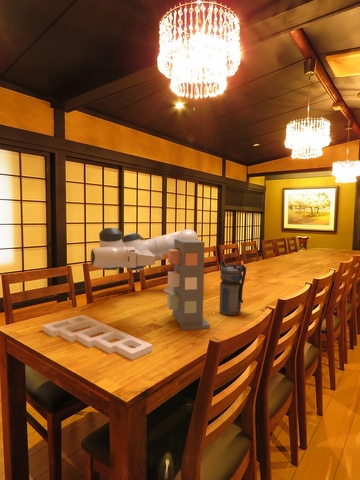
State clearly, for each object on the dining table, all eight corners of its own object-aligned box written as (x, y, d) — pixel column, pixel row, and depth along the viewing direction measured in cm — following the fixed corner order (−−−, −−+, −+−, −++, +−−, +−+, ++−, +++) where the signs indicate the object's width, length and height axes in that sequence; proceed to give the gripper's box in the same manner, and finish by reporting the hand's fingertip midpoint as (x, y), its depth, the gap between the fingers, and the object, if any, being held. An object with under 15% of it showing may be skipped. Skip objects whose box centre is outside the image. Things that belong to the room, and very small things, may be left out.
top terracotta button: (170, 264, 126) (170, 250, 126) (168, 262, 132) (168, 249, 131) (184, 263, 128) (184, 250, 127) (181, 261, 133) (181, 249, 133)
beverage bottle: (239, 318, 136) (241, 265, 134) (214, 312, 144) (215, 262, 142) (248, 313, 144) (250, 262, 142) (224, 308, 152) (225, 259, 150)
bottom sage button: (169, 309, 128) (169, 297, 127) (167, 306, 133) (167, 293, 133) (183, 309, 129) (183, 296, 129) (180, 305, 135) (180, 293, 134)
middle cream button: (170, 287, 127) (170, 274, 127) (167, 284, 132) (167, 271, 132) (183, 286, 128) (183, 273, 128) (180, 283, 134) (181, 271, 133)
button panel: (182, 330, 121) (184, 242, 118) (172, 313, 143) (173, 238, 140) (209, 328, 124) (211, 242, 121) (195, 311, 145) (197, 238, 142)
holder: (152, 352, 102) (152, 345, 102) (108, 372, 89) (108, 363, 89) (83, 320, 132) (83, 314, 132) (42, 332, 119) (42, 325, 118)
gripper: (129, 260, 135) (159, 260, 138) (132, 268, 115) (166, 267, 118) (129, 247, 135) (159, 246, 138) (132, 252, 115) (167, 252, 118)
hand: (162, 256), depth 128 cm, fingers closed
